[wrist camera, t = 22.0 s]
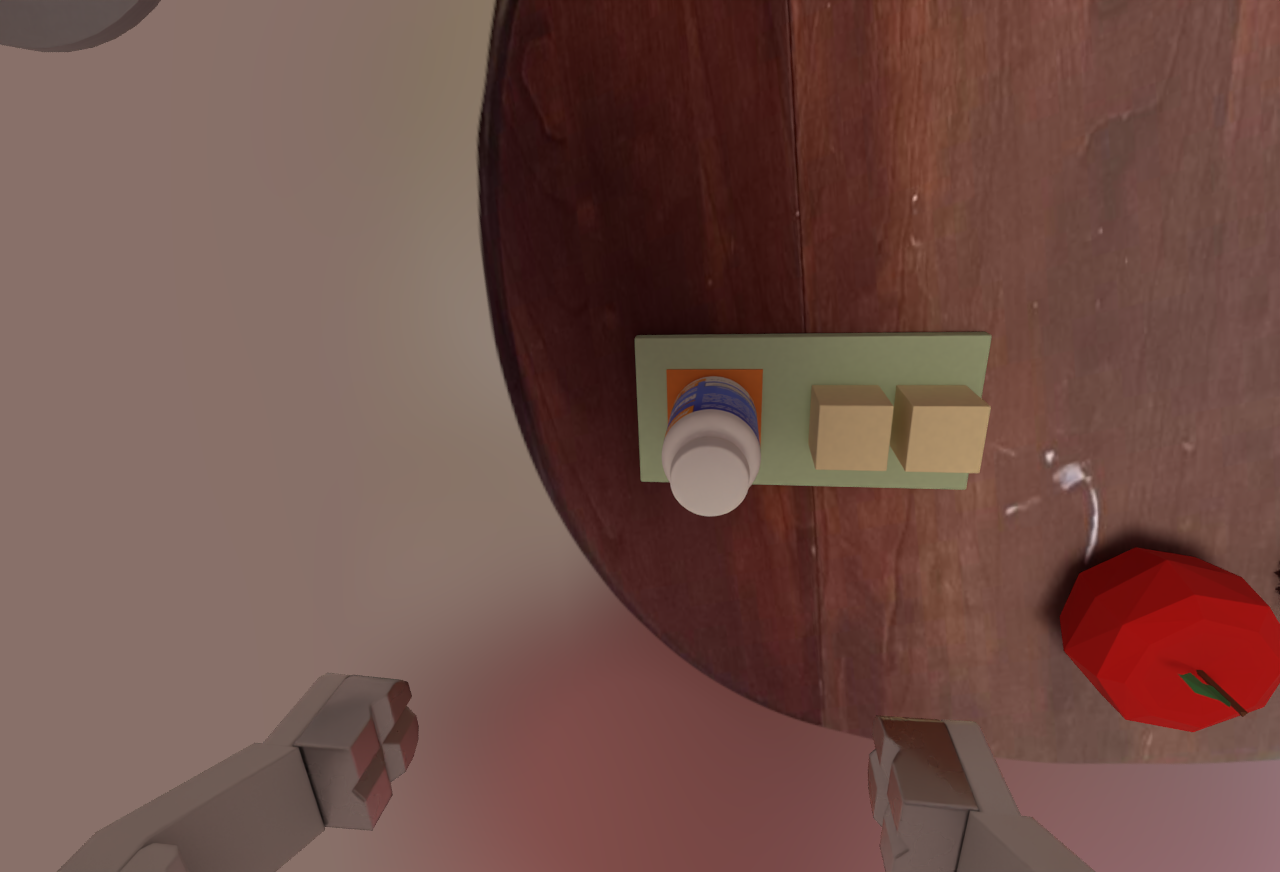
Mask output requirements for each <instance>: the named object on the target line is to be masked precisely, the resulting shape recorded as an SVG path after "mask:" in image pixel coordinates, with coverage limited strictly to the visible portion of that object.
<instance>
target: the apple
mask: <svg viewBox="0 0 1280 872" xmlns="http://www.w3.org/2000/svg"><path fill="white" fill-rule="evenodd" d="M1060 625H1061V632H1062V640H1063V648H1064V651H1065V653H1066V654H1067V655H1068V656H1069V657H1070V658H1071V660H1072V661H1073V662H1074V663H1075V664H1076V665H1077V667H1078V668H1079V669H1080V670H1081V671H1082V672H1083V674H1084V675H1085V676H1086V677H1087V678H1088V679H1089V681H1090V682H1091V683H1092V684H1093V685H1094V686H1095V688H1096V689H1097V690H1098V691H1099V692H1100V693H1101V695H1102V696H1103V697H1104V698H1105V699H1106V700H1107V701H1108V702H1109V703H1110V704H1111V705H1112V706H1113V707H1114V708H1115V709H1116V710H1117V711H1118V712H1119V713H1120V714H1121V715H1122V716H1123V717H1124V718H1125V719H1126V720H1130V721H1136V722H1141V723H1147V724H1152V725H1157V726H1163V727H1168V728H1173V729H1179V730H1184V731H1190V732H1195V731H1198V730H1201V729H1203V728H1206V727H1209V726H1212V725H1215V724H1218V723H1220V722H1223V721H1226V720H1229V719H1232V718H1234V717H1237V716H1240V715H1241V716H1242V717H1243V716H1244V715H1246V714H1247V713H1249V712H1251V711H1254V710H1257V709H1260V708H1263V707H1264V706H1265V705H1266V703H1267V702H1268V700H1269V699H1270V697H1271V695H1272V694H1273V692H1274V691H1275V689H1276V688H1277V686H1278V685H1279V683H1280V624H1279V622H1278V620H1277V619H1276V617H1275V615H1274V614H1273V612H1272V610H1271V608H1270V607H1269V606H1268V605H1267V604H1266V603H1265V602H1264V600H1263V599H1262V598H1261V597H1260V596H1259V595H1258V594H1257V593H1256V592H1255V591H1254V590H1253V589H1252V588H1251V587H1250V586H1249V585H1248V583H1247V582H1246V581H1245V580H1244V579H1243V578H1242V577H1240V576H1237V575H1235V574H1233V573H1230V572H1228V571H1226V570H1224V569H1221V568H1219V567H1217V566H1214V565H1212V564H1210V563H1208V562H1205V561H1203V560H1201V559H1198V558H1196V557H1192V556H1186V555H1180V554H1174V553H1167V552H1161V551H1155V550H1149V549H1143V548H1137V547H1135V548H1133V549H1131V550H1129V551H1126V552H1124V553H1122V554H1120V555H1118V556H1116V557H1113V558H1111V559H1109V560H1107V561H1105V562H1103V563H1100V564H1098V565H1096V566H1094V567H1092V568H1090V569H1087V570H1085V571H1083V572H1081V573H1079V575H1078V577H1077V579H1076V582H1075V584H1074V586H1073V588H1072V590H1071V593H1070V595H1069V597H1068V599H1067V601H1066V604H1065V606H1064V608H1063V610H1062V612H1061V615H1060Z"/></svg>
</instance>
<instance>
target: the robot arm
mask: <svg viewBox="0 0 1280 872" xmlns="http://www.w3.org/2000/svg"><path fill="white" fill-rule="evenodd" d="M411 697H412V695H411V691H410V688H409V685H408V682H406V681H403V680H398V679H388V678H378V677H369V676H360V675H345V674H335V673H327V674H325V675H323V676H321V677H319V678H318V679H317V680H316V682H315V683H314V684H313V685H312V686H311V687H310V689H309V690H308V691H307V692H306V693H305V694H304V696H303V697H302V698H301V699H300V700H299V702H298V703H297V704H296V705H295V706H294V708H293V709H292V710H291V711H290V712H289V713H288V714H287V716H286V717H285V718H284V719H283V720H282V721H281V722H280V724H279V725H278V726H277V727H276V728H275V730H274V731H273V732H272V733H271V734H270V735H269V736H268V738H267V739H266V740H265V741H264V742H263V743H254V744H252V745H250V746H248V747H246V748H245V749H243V750H241V751H239V752H238V753H236V754H234V755H232V756H230V757H229V758H227V759H225V760H224V761H222V762H220V763H218V764H216V765H215V766H213V767H211V768H209V769H208V770H206V771H204V772H202V773H200V774H199V775H197V776H195V777H193V778H192V779H190V780H188V781H186V782H184V783H183V784H181V785H179V786H177V787H176V788H174V789H172V790H170V791H169V792H167V793H165V794H163V795H161V796H160V797H158V798H156V799H154V800H153V801H151V802H149V803H147V804H145V805H144V806H142V807H140V808H138V809H137V810H135V811H133V812H131V813H129V814H128V815H126V816H124V817H122V818H121V819H119V820H117V821H115V822H113V823H112V824H110V825H109V826H107V827H105V828H103V829H101V830H99V831H97V832H96V833H95V834H94V835H93V836H92V837H91V838H90V839H89V840H88V841H87V842H86V843H85V844H84V845H83V846H82V847H81V848H80V849H79V850H78V851H77V852H76V853H75V854H74V855H73V856H72V857H71V858H70V859H69V860H68V861H67V862H66V863H65V864H64V865H63V866H62V867H61V868H60V869H59V870H58V871H57V872H276V871H277V870H278V869H279V868H281V867H282V866H283V865H284V864H285V863H286V862H288V861H289V860H290V859H291V858H292V857H294V856H295V855H296V854H297V853H298V852H300V851H301V850H302V849H303V848H304V847H305V846H307V844H309V843H310V842H311V841H312V840H314V839H315V838H316V837H317V836H318V835H320V834H321V833H322V832H323V831H324V830H325V827H335V828H346V829H360V830H373V828H374V827H375V825H376V823H377V821H378V820H379V818H380V816H381V814H382V812H383V811H384V809H385V807H386V805H387V804H388V802H389V800H390V798H391V797H392V788H391V782H392V781H393V780H395V779H396V778H398V777H399V776H400V775H402V774H403V773H405V772H406V770H407V768H408V766H409V764H410V763H411V761H412V758H413V757H414V753H415V749H416V746H417V742H418V727H419V726H418V721H417V717H416V715H415V714H414V713H413V712H412V711H411V710H410V709H409V708H408V707H407V706H406V705H407V704H408V702H409V700H410V699H411ZM872 735H873V739H874V744H875V748H876V749H875V750H873V751H872V752H871V753H870V754H869V764H868V786H869V787H868V789H869V795H870V802H871V808H872V813H873V817H874V819H875V820H876V821H877V822H878V823H879V824H880V826H881V827H882V832H881V840H880V849H881V853H882V858H883V862H884V867H885V871H886V872H1095V871H1094V870H1093V869H1092V868H1090V867H1089V866H1088V865H1087V864H1086V863H1085V862H1084V861H1082V860H1081V859H1080V858H1079V857H1078V856H1077V855H1075V854H1074V853H1073V852H1072V851H1071V850H1070V849H1069V848H1067V847H1066V846H1065V845H1064V844H1063V843H1061V842H1060V841H1059V840H1058V839H1057V838H1056V837H1055V836H1053V835H1052V834H1051V833H1050V832H1049V831H1048V830H1046V829H1045V828H1044V827H1043V826H1042V825H1041V824H1040V823H1038V822H1037V821H1036V820H1035V819H1034V818H1033V817H1027V816H1021V815H1020V812H1019V810H1018V808H1017V806H1016V804H1015V801H1014V799H1013V797H1012V795H1011V793H1010V790H1009V788H1008V786H1007V784H1006V782H1005V780H1004V777H1003V775H1002V773H1001V771H1000V769H999V767H998V764H997V762H996V760H995V758H994V756H993V753H992V751H991V749H990V747H989V745H988V743H987V740H986V738H985V736H984V734H983V732H982V730H981V727H980V726H979V725H978V724H977V723H976V722H971V721H956V720H941V721H940V720H938V719H924V718H909V717H894V716H878V715H876V717H875V720H874V723H873V730H872Z"/></svg>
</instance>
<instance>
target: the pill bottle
mask: <svg viewBox="0 0 1280 872" xmlns="http://www.w3.org/2000/svg"><path fill="white" fill-rule="evenodd" d="M760 462H761V451H760V441H759V432H758V422H757V412H756V408H755V405H754V402H753V400H752V398H751V396H750V395H749V394H748V392H747V391H746V390H745V389H744V388H743V387H742V386H740V385H739V384H738V383H736V382H734V381H732V380H730V379H727V378H724V377H717V376H710V377H704V378H700V379H698V380H695V381H693V382H692V383H690V384H689V385H687V386H686V387H685V388H684V389H683V390H682V391H681V392H680V394H679V395H678V396H677V398H676V400H675V402H674V405H673V408H672V412H671V415H670V419H669V423H668V427H667V430H666V434H665V438H664V442H663V448H662V465H663V469H664V472H665V475H666V477H667V479H668V480H669V482H670V485H671V489H672V492H673V494H674V496H675V498H676V500H677V501H678V502H679V503H680V504H681V505H682V506H683V507H684V508H686V509H687V510H689V511H691V512H693V513H695V514H698V515H702V516H719V515H723V514H726V513H728V512H730V511H732V510H733V509H735V508H736V507H737V506H738V505H739V504H740V503H741V502H742V501H743V500H744V498H745V496H746V494H747V491H748V488H749V487H750V486H751V485H752V483H753V482H754V480H755V478H756V476H757V474H758V472H759V468H760Z"/></svg>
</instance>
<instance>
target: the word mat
mask: <svg viewBox="0 0 1280 872" xmlns="http://www.w3.org/2000/svg"><path fill="white" fill-rule="evenodd" d="M991 337H992V336H991V335H990V334H988V333H987V332H912V333H809V334H705V335H637V336H636V337H635V339H634V340H635V362H636V384H637V407H638V429H639V452H640V474H641V481H642V482H669V480H668V479H667V477H666V475H665V472H664V469H663V465H662V448H663V442H664V438H665V434H666V430H667V427H668V423H669V419H670V415H671V412H672V408H673V405H674V402H675V400H676V398H677V396H678V395H679V394H680V392H681V391H682V390H683V389H684V388H685V387H686V386H687V385H689V384H690V383H692V382H693V381H695V380H698V379H700V378H704V377H710V376H717V377H724V378H727V379H730V380H732V381H734V382H736V383H738V384H739V385H740V386H742V387H743V388H744V389H745V390H746V391H747V392H748V394H749V395H750V396H751V398H752V400H753V402H754V405H755V408H756V412H757V422H758V432H759V441H760V451H761V462H760V468H759V472H758V474H757V476H756V478H755V480H754V482H753V483H752V484H761V485H801V486H841V487H880V488H920V489H960V490H965V489H966V486H967V480H968V474H969V473H979V472H980V466H981V461H982V455H983V449H984V443H985V438H986V432H987V426H988V421H989V415H990V409H991V406H989V405H988V404H987V403H986V402H985V401H984V400H983V399H981V397H982V391H983V385H984V379H985V373H986V367H987V361H988V355H989V349H990V343H991Z"/></svg>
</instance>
